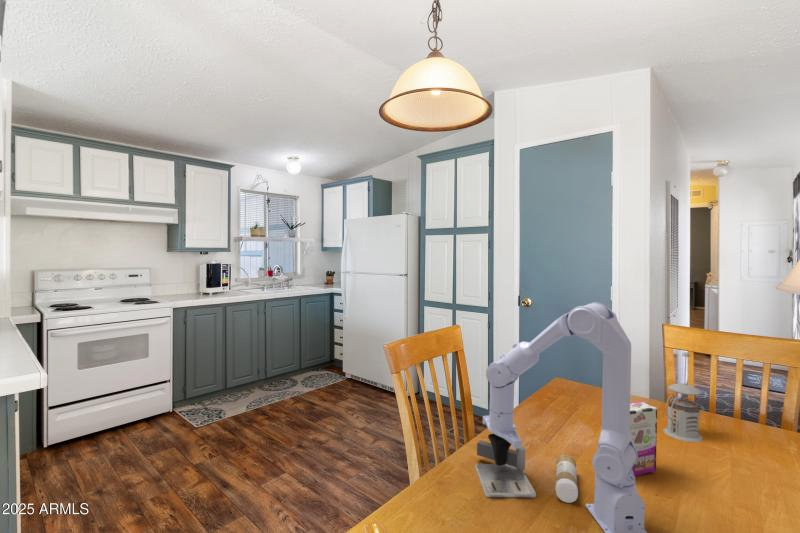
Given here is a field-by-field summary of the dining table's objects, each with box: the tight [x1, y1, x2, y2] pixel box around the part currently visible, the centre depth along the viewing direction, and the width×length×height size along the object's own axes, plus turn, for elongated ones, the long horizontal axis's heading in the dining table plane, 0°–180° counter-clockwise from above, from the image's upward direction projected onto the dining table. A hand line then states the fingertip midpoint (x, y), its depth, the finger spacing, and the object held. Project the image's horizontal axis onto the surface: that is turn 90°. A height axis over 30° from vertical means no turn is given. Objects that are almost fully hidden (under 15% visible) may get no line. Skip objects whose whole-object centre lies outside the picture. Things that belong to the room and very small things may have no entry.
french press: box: [662, 351, 704, 443], centre depth 120 cm, size 10×12×25 cm
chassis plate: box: [475, 463, 537, 498], centre depth 95 cm, size 12×11×1 cm
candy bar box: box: [630, 401, 658, 477], centre depth 100 cm, size 11×5×16 cm, turn 105°
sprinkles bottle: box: [554, 454, 579, 504], centre depth 94 cm, size 5×5×13 cm
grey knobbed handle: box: [476, 440, 527, 471], centre depth 101 cm, size 2×12×5 cm, turn 56°
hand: (500, 463), depth 99 cm, fingers closed, pressing on grey knobbed handle
